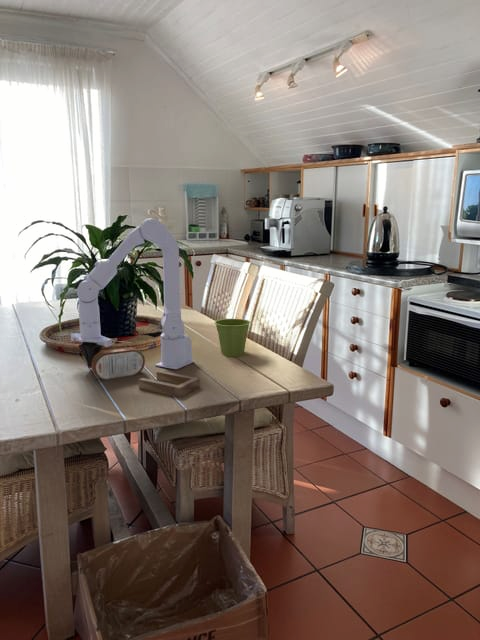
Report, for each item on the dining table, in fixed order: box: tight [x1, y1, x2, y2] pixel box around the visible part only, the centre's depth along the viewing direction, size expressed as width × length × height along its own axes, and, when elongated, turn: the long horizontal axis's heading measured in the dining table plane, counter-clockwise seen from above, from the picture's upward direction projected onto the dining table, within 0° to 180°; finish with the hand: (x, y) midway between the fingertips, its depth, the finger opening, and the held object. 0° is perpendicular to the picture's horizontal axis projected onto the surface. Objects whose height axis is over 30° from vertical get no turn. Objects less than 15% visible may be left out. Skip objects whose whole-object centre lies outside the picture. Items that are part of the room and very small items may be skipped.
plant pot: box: [213, 318, 252, 357], centre depth 171 cm, size 12×12×11 cm
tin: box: [90, 346, 146, 381], centre depth 149 cm, size 15×3×8 cm, turn 120°
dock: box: [138, 370, 201, 398], centre depth 140 cm, size 9×14×2 cm, turn 60°
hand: (92, 367), depth 154 cm, fingers closed
